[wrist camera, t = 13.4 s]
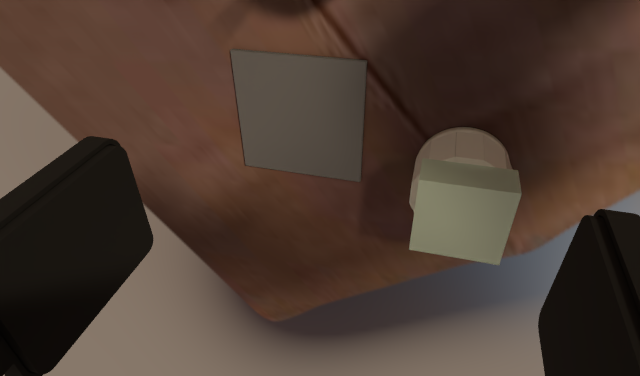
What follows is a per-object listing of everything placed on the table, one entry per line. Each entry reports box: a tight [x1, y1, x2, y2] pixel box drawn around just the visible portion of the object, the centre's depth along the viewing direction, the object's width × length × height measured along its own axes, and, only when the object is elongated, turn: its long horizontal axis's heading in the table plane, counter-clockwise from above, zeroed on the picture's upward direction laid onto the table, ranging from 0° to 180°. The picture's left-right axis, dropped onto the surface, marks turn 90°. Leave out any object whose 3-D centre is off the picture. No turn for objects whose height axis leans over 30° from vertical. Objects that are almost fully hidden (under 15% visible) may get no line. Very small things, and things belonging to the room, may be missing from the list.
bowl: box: [409, 127, 513, 211], centre depth 38 cm, size 8×8×5 cm
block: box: [409, 158, 522, 265], centre depth 35 cm, size 7×7×3 cm
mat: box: [230, 49, 367, 182], centre depth 41 cm, size 12×12×1 cm
